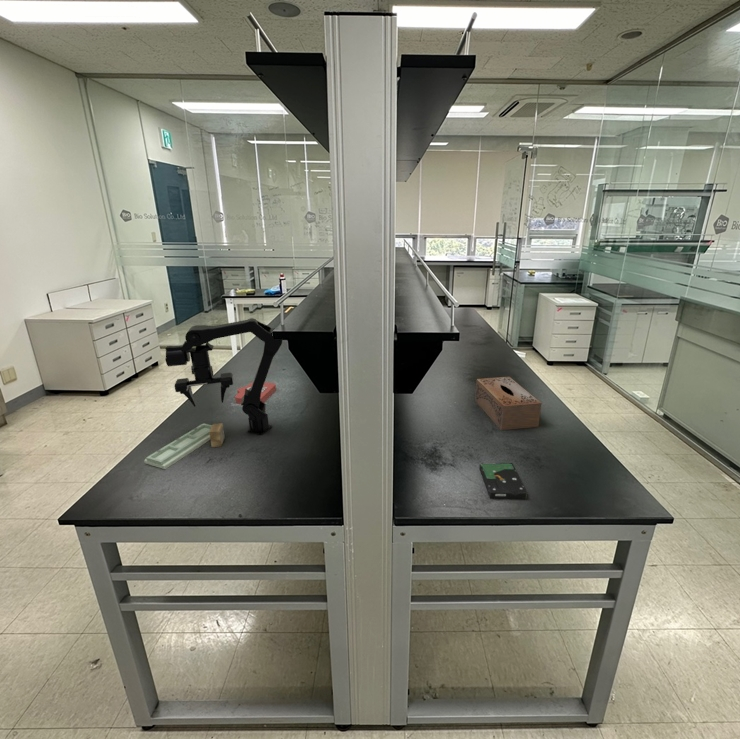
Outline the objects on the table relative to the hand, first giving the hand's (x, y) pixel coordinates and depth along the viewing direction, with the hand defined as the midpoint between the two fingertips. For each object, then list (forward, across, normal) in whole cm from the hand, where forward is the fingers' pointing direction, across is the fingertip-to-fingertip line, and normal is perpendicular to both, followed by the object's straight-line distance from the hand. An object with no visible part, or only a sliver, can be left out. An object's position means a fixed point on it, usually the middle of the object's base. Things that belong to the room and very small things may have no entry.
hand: (208, 404), depth 148 cm
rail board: (+12, +9, +6) cm, 16 cm away
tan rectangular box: (+12, -2, +6) cm, 14 cm away
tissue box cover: (+15, -110, +17) cm, 112 cm away
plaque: (+13, -15, -31) cm, 37 cm away
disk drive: (+14, -84, +56) cm, 102 cm away
